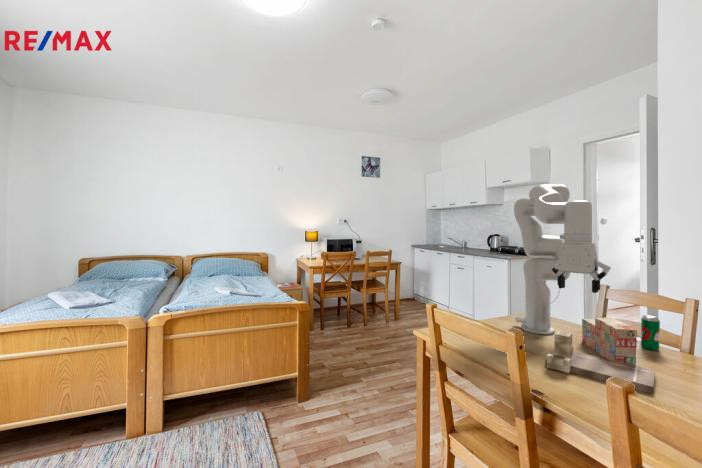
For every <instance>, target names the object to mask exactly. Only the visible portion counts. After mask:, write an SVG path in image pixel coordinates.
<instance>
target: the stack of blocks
mask: <svg viewBox="0 0 702 468" xmlns="http://www.w3.org/2000/svg"><path fill="white" fill-rule="evenodd" d="M581 320H582V321H581V326H582V331H581V332H582V336H581V337H582V342H583V343H584V344H586V346H588V347H589V348H591V349H593V350H594V351H595V352H597V353H598V354H599V355H601V356H603V358H604V359H609V360H613V361H617V362H622V363H626V364H631V365H635V366H637V365H636V364H637V346H638V345H637V344H638V343H637V342H638V340H637V338H638V337H637V336H638V329H636V328H634V327H632V326H630V325H628V324H627V323H625V322H621V321H620V320H618V319H616V318H614V317H613V318H611V317H610V318H607V317H606V318H605V317H603V318H602V317H595V318H582V319H581Z"/></svg>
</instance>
